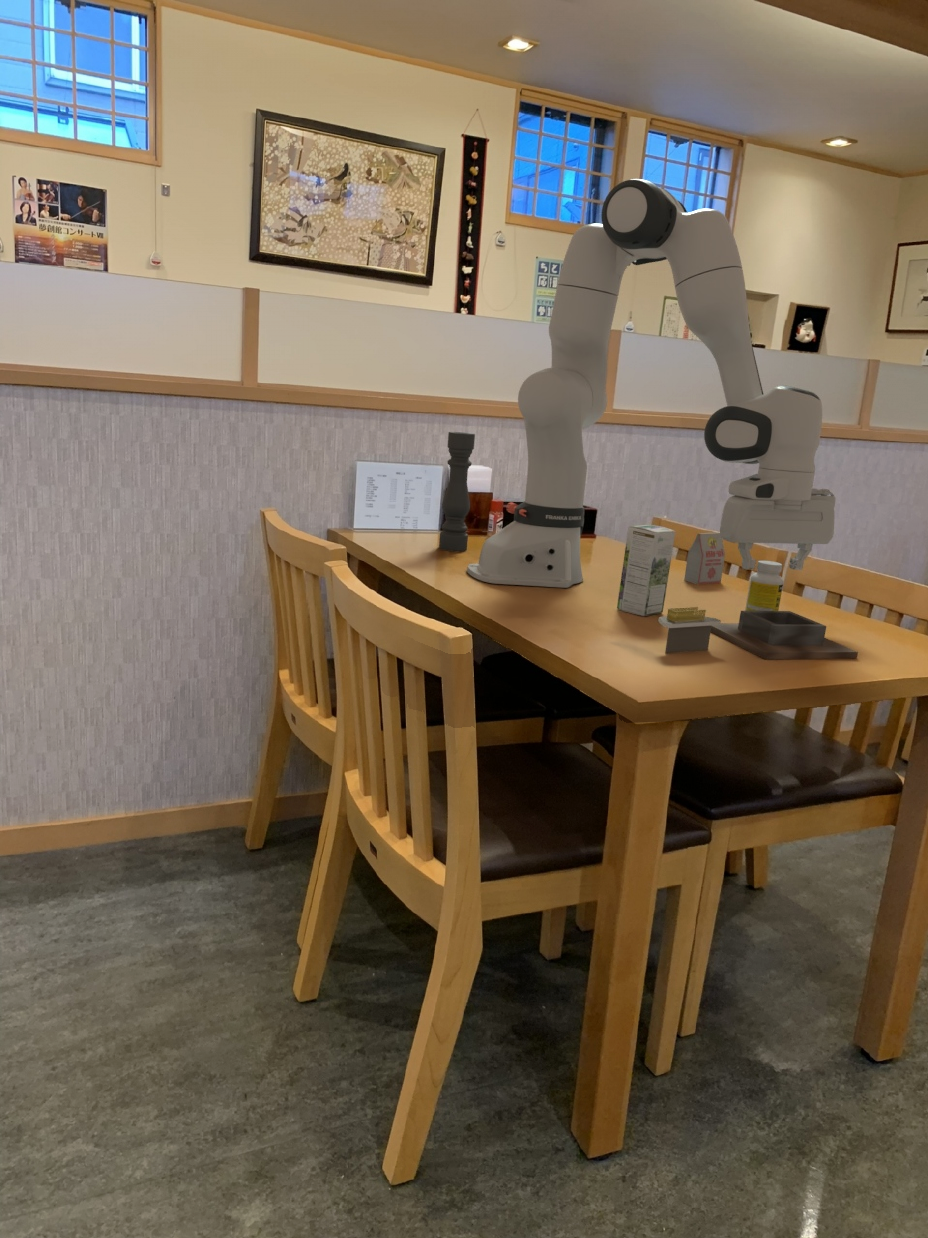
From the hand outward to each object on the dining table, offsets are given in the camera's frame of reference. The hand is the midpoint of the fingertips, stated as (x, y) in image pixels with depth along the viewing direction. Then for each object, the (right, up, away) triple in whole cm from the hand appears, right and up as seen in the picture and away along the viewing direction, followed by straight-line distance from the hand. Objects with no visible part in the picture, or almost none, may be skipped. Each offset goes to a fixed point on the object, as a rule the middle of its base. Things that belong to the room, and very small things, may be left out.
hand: (772, 569), depth 152 cm
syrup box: (-22, -7, 0) cm, 24 cm away
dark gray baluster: (-55, +7, +45) cm, 71 cm away
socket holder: (-4, -12, -14) cm, 19 cm away
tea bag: (-4, -1, +31) cm, 31 cm away
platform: (-20, -14, -21) cm, 33 cm away
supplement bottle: (-1, -9, +2) cm, 9 cm away
